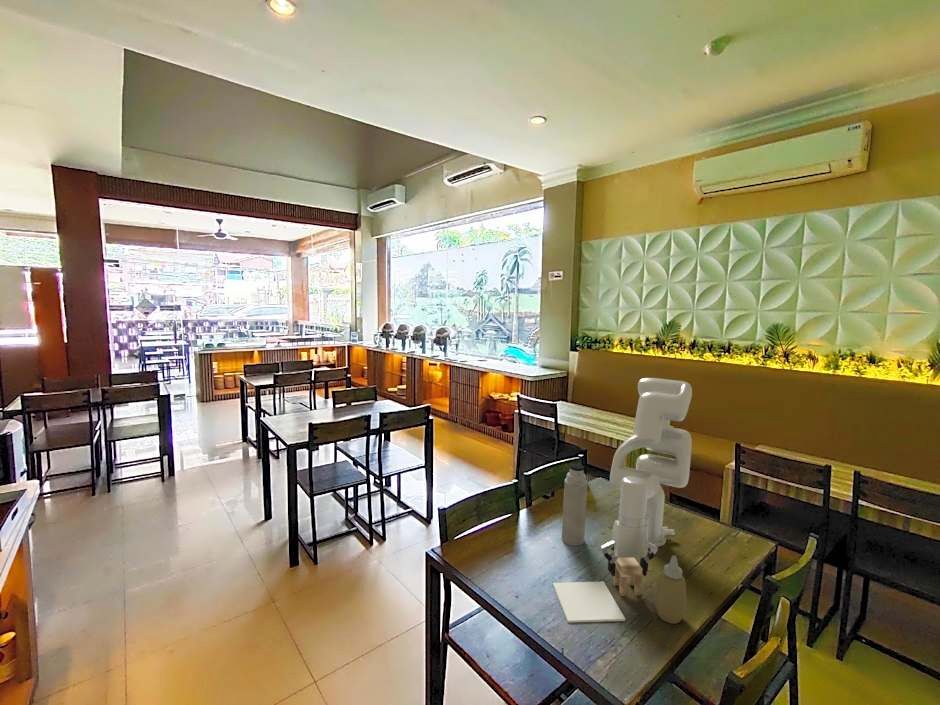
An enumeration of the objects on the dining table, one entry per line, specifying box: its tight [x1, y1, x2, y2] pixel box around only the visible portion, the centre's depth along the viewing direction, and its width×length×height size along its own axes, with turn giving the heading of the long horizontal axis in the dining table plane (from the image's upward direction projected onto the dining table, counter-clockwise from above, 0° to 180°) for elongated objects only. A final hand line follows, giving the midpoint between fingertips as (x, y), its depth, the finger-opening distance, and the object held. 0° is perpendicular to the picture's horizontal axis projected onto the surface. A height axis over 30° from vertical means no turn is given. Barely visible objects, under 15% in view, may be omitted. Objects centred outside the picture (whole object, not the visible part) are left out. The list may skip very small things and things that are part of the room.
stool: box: [612, 558, 643, 597], centre depth 134 cm, size 6×6×8 cm
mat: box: [552, 581, 626, 624], centre depth 129 cm, size 16×16×1 cm
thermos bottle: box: [561, 463, 588, 546], centre depth 160 cm, size 8×8×28 cm
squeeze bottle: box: [653, 554, 687, 625], centre depth 123 cm, size 8×8×18 cm
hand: (627, 573), depth 134 cm, fingers open, 9 cm apart
